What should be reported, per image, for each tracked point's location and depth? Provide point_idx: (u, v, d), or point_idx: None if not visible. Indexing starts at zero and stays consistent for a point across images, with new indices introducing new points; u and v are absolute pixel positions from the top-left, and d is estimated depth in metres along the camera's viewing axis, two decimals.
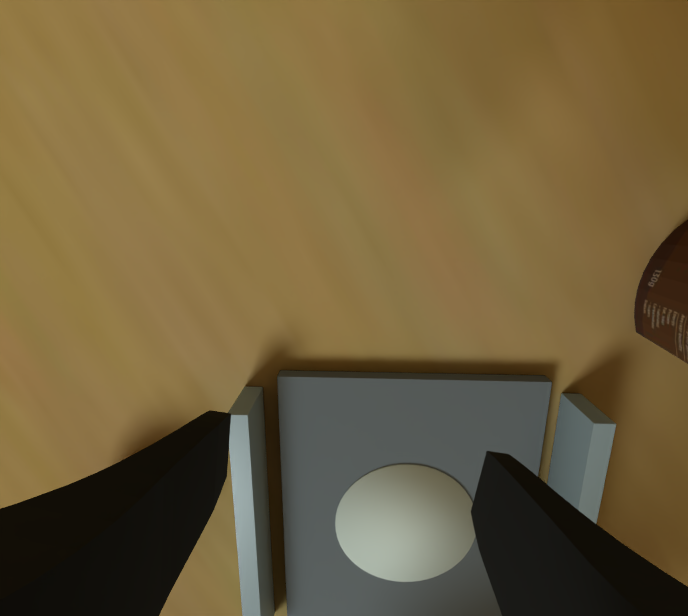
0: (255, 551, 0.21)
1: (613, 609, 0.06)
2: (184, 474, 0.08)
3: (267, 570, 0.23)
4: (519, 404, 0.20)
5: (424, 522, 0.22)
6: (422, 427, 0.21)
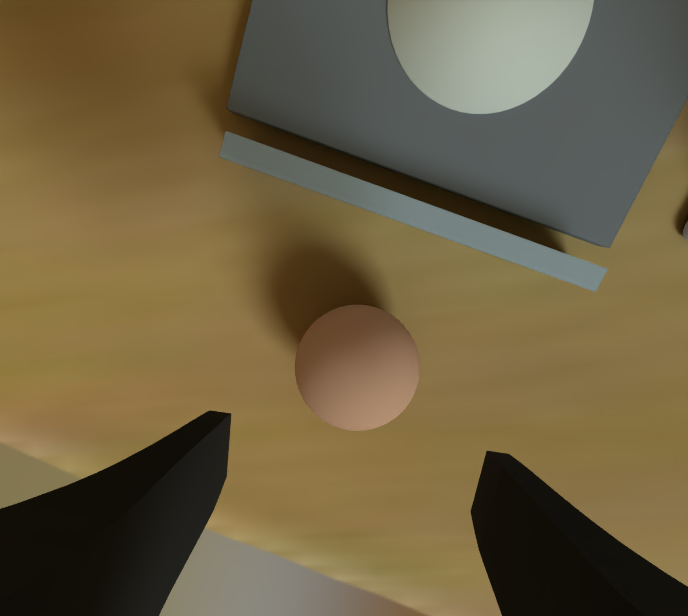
0: (418, 202, 0.15)
1: (613, 608, 0.06)
2: (184, 474, 0.08)
3: None
4: None
5: None
6: None
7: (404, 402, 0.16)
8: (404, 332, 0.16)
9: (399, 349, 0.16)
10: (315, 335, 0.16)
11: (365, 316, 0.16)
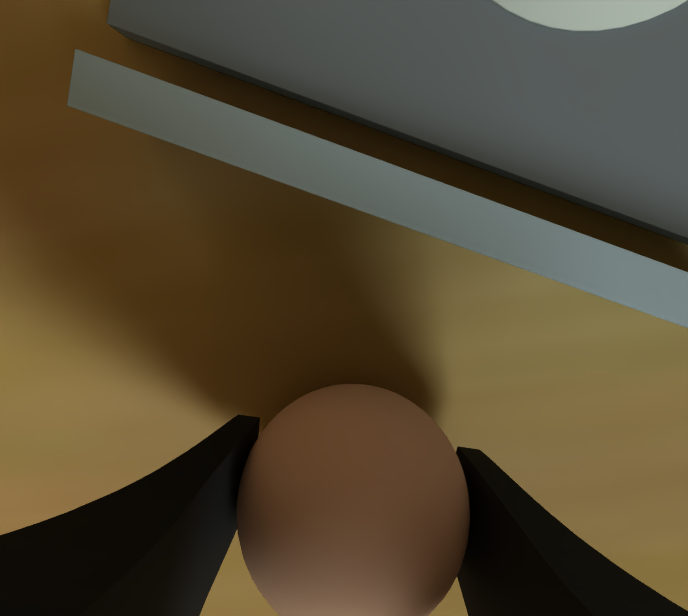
0: (477, 199, 0.08)
1: (559, 601, 0.06)
2: (222, 480, 0.08)
3: None
4: None
5: None
6: None
7: (445, 594, 0.08)
8: (443, 450, 0.09)
9: (438, 498, 0.08)
10: (268, 460, 0.08)
11: (368, 424, 0.08)
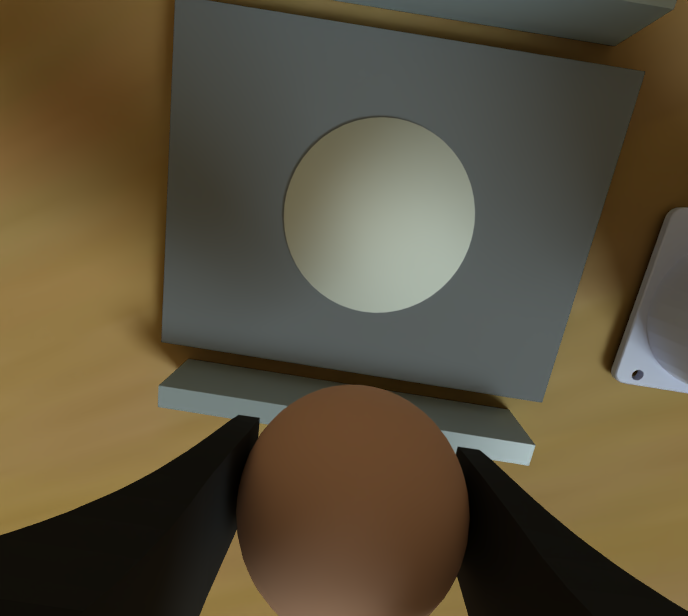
0: None
1: (559, 600, 0.06)
2: (222, 480, 0.08)
3: (417, 405, 0.18)
4: (206, 44, 0.15)
5: (378, 194, 0.16)
6: (233, 182, 0.16)
7: (445, 595, 0.08)
8: (442, 451, 0.09)
9: (438, 499, 0.08)
10: (268, 461, 0.08)
11: (368, 425, 0.08)
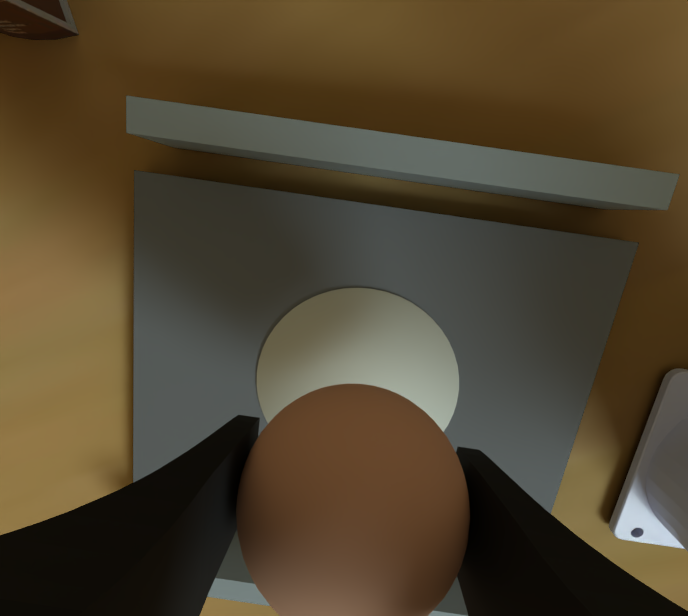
0: None
1: (559, 600, 0.06)
2: (222, 480, 0.08)
3: None
4: (168, 217, 0.14)
5: (355, 360, 0.15)
6: (202, 349, 0.16)
7: (445, 594, 0.08)
8: (443, 450, 0.09)
9: (438, 498, 0.08)
10: (268, 460, 0.08)
11: (368, 424, 0.08)
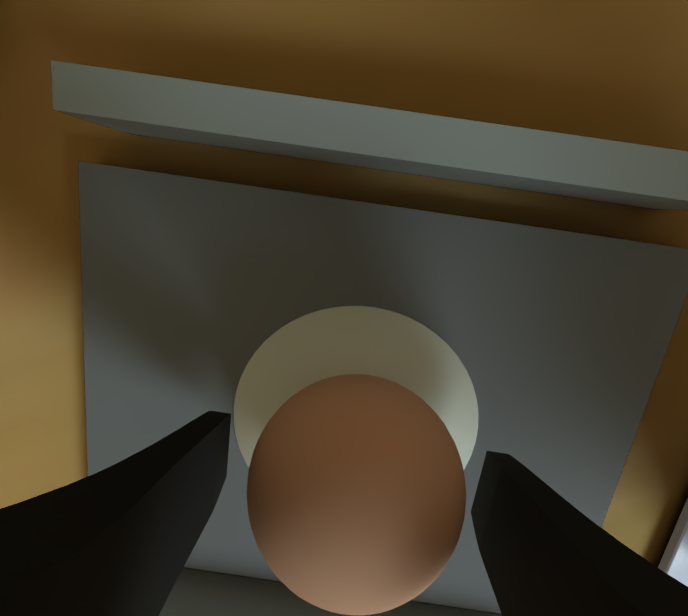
0: None
1: (613, 608, 0.06)
2: (184, 474, 0.08)
3: None
4: (122, 219, 0.12)
5: None
6: (168, 378, 0.13)
7: (444, 566, 0.09)
8: (441, 434, 0.09)
9: (437, 476, 0.08)
10: (278, 445, 0.09)
11: (372, 410, 0.09)
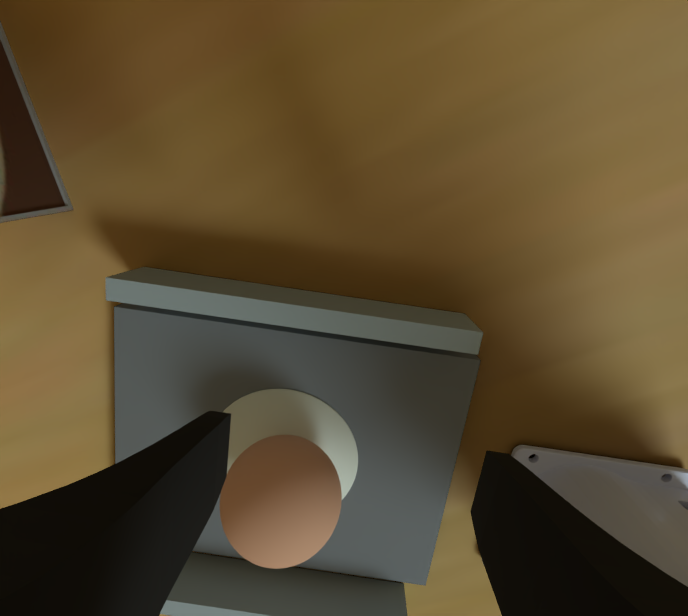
0: (258, 614, 0.21)
1: (613, 608, 0.06)
2: (184, 474, 0.08)
3: (324, 589, 0.23)
4: (139, 338, 0.20)
5: None
6: (166, 430, 0.21)
7: (328, 537, 0.17)
8: (325, 469, 0.17)
9: (321, 493, 0.16)
10: (238, 485, 0.16)
11: (287, 462, 0.17)
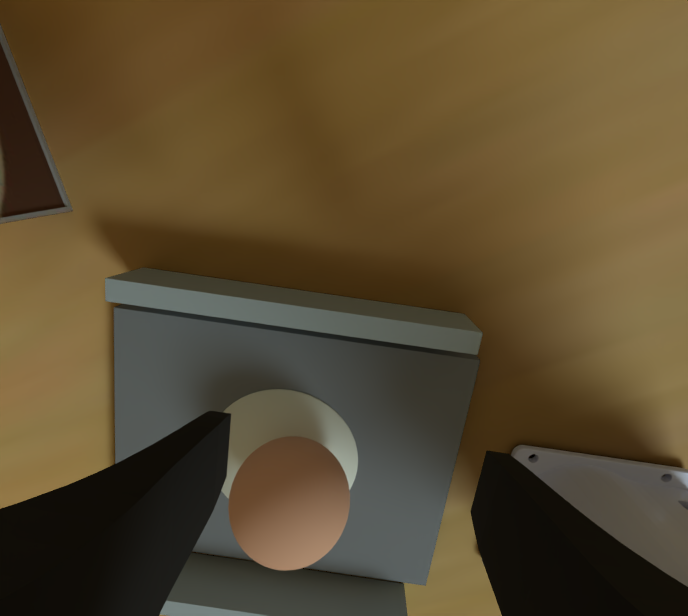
0: (258, 615, 0.21)
1: (613, 609, 0.06)
2: (184, 474, 0.08)
3: (324, 590, 0.23)
4: (139, 339, 0.20)
5: None
6: (166, 430, 0.21)
7: (341, 533, 0.17)
8: (335, 466, 0.18)
9: (335, 491, 0.17)
10: (251, 492, 0.16)
11: (299, 463, 0.17)
